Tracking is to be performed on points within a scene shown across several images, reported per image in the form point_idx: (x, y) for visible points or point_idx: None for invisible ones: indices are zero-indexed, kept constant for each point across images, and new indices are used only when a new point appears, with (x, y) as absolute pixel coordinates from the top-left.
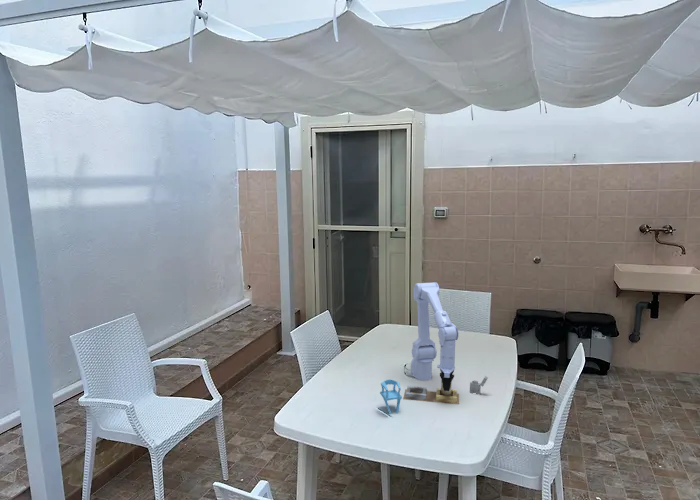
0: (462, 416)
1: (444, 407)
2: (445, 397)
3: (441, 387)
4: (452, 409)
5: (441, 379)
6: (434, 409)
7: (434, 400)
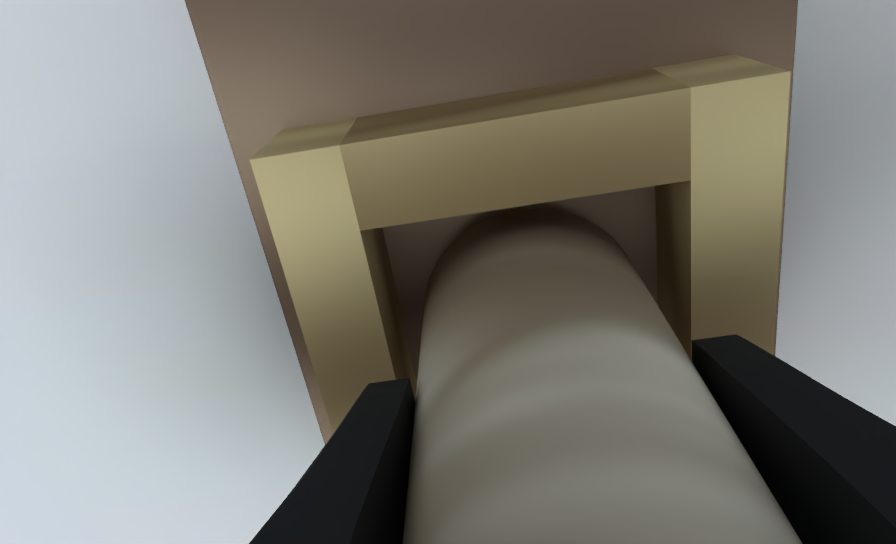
0: (67, 539)
1: (211, 290)
2: (311, 354)
3: (490, 320)
4: (206, 407)
5: (560, 502)
6: (26, 142)
7: (295, 91)
